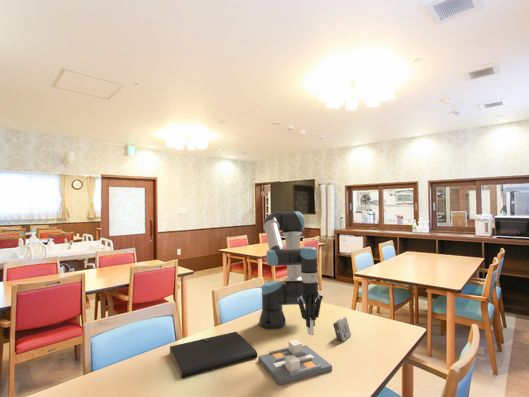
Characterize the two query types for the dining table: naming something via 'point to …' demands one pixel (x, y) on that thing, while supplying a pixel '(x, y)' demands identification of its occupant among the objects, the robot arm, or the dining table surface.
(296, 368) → the outer tab
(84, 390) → the dining table surface
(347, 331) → the electrical switch
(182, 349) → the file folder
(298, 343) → the inner tab
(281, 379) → the switch panel
